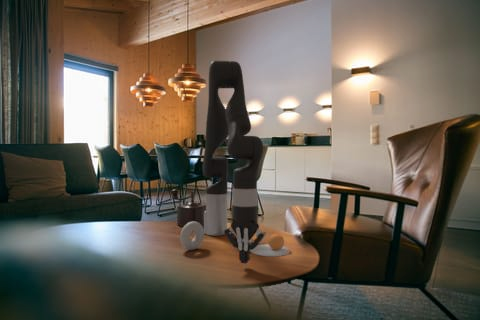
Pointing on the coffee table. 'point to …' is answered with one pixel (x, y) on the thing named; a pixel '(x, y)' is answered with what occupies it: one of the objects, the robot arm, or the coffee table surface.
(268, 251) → the disc
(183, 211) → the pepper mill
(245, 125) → the robot arm
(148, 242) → the coffee table surface
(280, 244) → the ball
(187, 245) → the donut
